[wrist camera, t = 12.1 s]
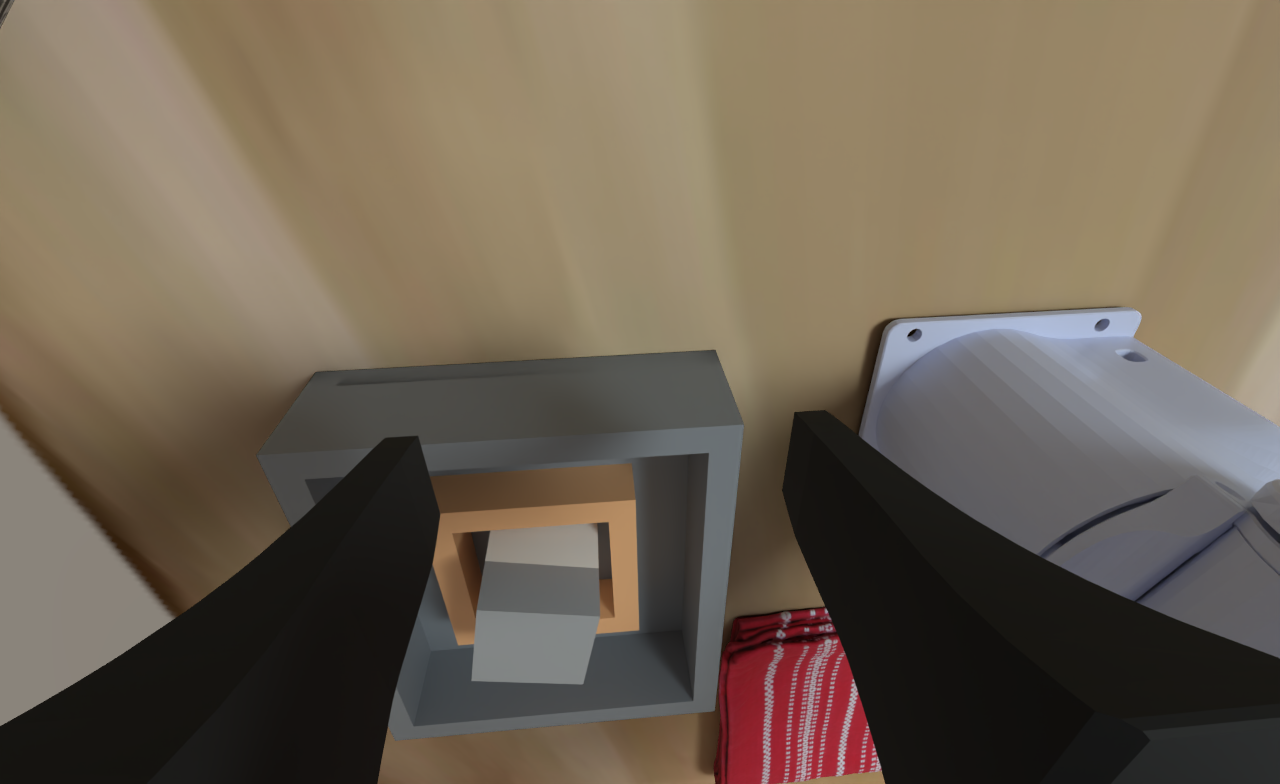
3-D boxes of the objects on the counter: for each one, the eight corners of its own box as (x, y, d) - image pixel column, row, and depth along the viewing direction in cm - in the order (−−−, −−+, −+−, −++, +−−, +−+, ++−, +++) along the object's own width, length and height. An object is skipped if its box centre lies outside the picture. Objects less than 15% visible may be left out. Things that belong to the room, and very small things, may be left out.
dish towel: (714, 605, 30) (725, 652, 28) (1150, 566, 32) (1192, 608, 29) (704, 765, 40) (711, 810, 38) (1039, 730, 41) (1066, 772, 39)
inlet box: (715, 350, 21) (744, 424, 17) (698, 622, 30) (714, 711, 26) (315, 372, 20) (256, 455, 17) (419, 646, 29) (395, 740, 25)
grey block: (597, 508, 24) (600, 616, 20) (582, 574, 26) (582, 684, 22) (495, 500, 23) (476, 610, 19) (489, 568, 25) (471, 681, 21)
